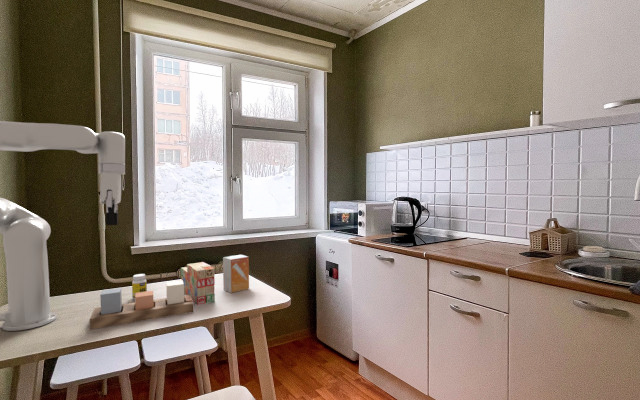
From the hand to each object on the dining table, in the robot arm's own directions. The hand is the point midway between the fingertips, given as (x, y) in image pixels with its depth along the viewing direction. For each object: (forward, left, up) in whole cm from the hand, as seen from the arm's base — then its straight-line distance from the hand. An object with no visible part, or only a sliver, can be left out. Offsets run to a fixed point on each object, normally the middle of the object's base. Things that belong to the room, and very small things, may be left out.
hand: (112, 224), depth 113 cm
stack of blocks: (+26, +1, -29) cm, 39 cm away
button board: (+9, -11, -28) cm, 32 cm away
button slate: (0, -11, -25) cm, 28 cm away
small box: (+41, +2, -29) cm, 50 cm away
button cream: (+18, -11, -25) cm, 33 cm away
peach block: (+9, -11, -27) cm, 31 cm away
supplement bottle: (+7, +9, -29) cm, 31 cm away
